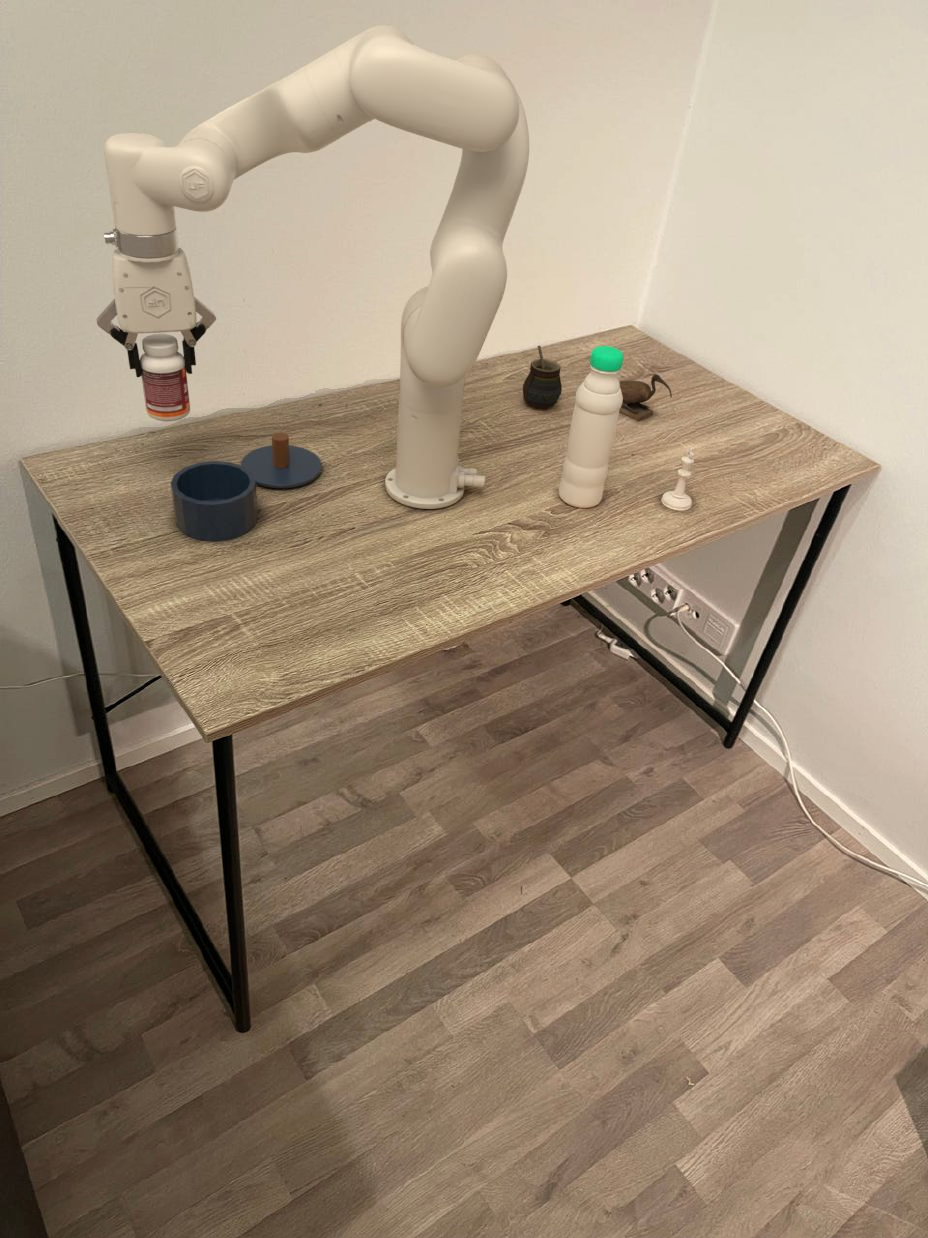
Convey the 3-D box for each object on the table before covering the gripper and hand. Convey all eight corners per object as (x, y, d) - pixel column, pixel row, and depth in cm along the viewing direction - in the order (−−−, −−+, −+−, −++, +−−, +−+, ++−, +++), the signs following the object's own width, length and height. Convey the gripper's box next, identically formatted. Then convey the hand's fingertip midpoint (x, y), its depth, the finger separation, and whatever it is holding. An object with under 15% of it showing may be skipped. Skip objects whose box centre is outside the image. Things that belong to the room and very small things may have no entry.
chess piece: (673, 513, 149) (688, 458, 143) (655, 497, 153) (668, 443, 146) (697, 507, 151) (713, 453, 145) (678, 492, 155) (693, 438, 148)
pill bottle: (197, 417, 136) (189, 345, 129) (155, 426, 133) (145, 352, 126) (181, 399, 139) (173, 328, 132) (140, 407, 137) (130, 335, 130)
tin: (263, 500, 142) (261, 464, 138) (249, 544, 133) (246, 507, 129) (186, 494, 141) (182, 458, 137) (167, 538, 132) (161, 500, 128)
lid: (326, 453, 154) (325, 420, 150) (315, 494, 144) (315, 460, 141) (249, 447, 154) (247, 413, 150) (233, 487, 144) (231, 453, 140)
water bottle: (605, 492, 152) (636, 346, 136) (596, 514, 147) (627, 365, 131) (563, 482, 154) (590, 336, 138) (553, 503, 148) (579, 354, 133)
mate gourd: (534, 416, 171) (541, 365, 165) (512, 398, 176) (518, 348, 169) (566, 410, 174) (574, 359, 168) (543, 392, 179) (551, 342, 173)
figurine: (671, 423, 174) (682, 379, 168) (657, 430, 171) (668, 386, 166) (611, 395, 181) (620, 352, 175) (597, 401, 178) (606, 358, 173)
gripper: (77, 252, 115) (100, 387, 127) (220, 249, 121) (229, 379, 132) (75, 232, 121) (97, 363, 132) (212, 230, 126) (222, 356, 137)
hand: (163, 370), depth 132 cm, fingers closed on pill bottle, 6 cm apart
